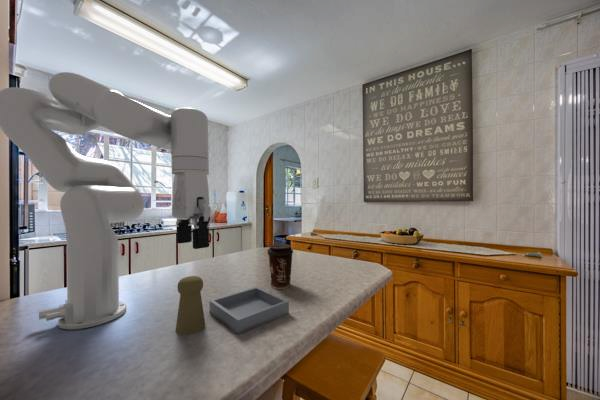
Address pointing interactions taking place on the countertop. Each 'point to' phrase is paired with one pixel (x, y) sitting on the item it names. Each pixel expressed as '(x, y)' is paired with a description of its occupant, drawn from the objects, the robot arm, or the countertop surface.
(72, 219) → the robot arm
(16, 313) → the countertop surface
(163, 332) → the countertop surface
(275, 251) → the coffee cup
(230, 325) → the tray
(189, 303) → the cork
